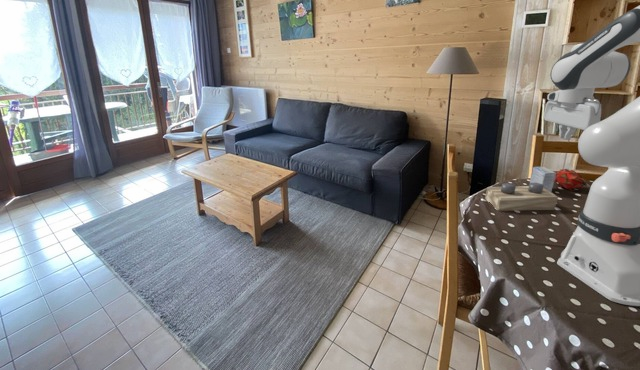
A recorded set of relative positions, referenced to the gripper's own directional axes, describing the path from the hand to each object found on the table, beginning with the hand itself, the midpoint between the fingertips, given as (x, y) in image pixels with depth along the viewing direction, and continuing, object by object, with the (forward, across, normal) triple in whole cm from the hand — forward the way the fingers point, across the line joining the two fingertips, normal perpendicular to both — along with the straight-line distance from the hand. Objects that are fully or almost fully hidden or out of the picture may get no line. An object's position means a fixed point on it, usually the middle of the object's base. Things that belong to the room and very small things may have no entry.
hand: (564, 138), depth 108 cm
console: (+25, +3, +9) cm, 27 cm away
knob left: (+25, +3, +14) cm, 28 cm away
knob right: (+25, +3, +4) cm, 25 cm away
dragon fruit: (+25, +16, -19) cm, 35 cm away
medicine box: (+25, +15, -7) cm, 30 cm away
